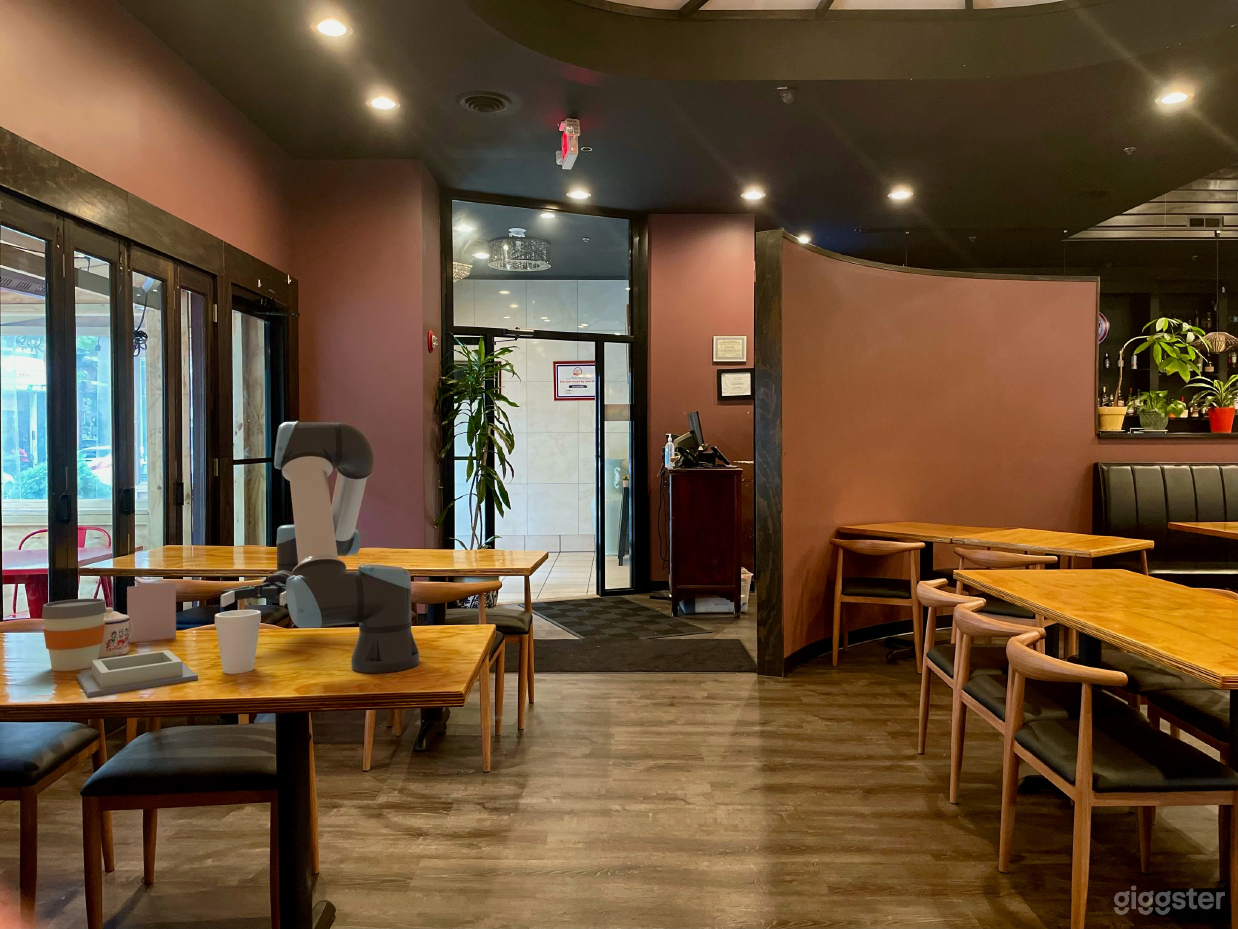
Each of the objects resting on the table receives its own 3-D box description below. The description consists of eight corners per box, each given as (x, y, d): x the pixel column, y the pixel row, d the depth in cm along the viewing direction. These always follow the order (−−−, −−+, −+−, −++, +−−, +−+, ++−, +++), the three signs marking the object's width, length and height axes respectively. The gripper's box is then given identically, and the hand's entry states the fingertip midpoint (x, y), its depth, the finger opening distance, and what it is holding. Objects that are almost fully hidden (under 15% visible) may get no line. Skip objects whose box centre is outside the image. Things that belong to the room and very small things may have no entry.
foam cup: (243, 676, 175) (242, 617, 175) (206, 674, 177) (205, 616, 177) (269, 665, 184) (269, 610, 184) (233, 664, 186) (233, 609, 186)
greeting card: (178, 637, 218) (177, 583, 218) (159, 643, 211) (158, 587, 211) (140, 636, 220) (140, 582, 220) (120, 642, 212) (120, 586, 212)
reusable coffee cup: (101, 657, 195) (100, 596, 195) (111, 666, 186) (111, 602, 186) (38, 666, 186) (38, 602, 187) (46, 676, 177) (45, 609, 177)
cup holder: (198, 679, 172) (197, 661, 172) (88, 697, 159) (88, 677, 159) (178, 663, 188) (178, 646, 188) (76, 678, 175) (76, 660, 175)
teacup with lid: (109, 659, 193) (109, 611, 193) (77, 658, 194) (77, 610, 194) (147, 648, 205) (147, 603, 205) (116, 647, 206) (116, 602, 206)
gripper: (328, 599, 213) (305, 614, 192) (231, 601, 210) (198, 617, 189) (328, 571, 213) (305, 583, 192) (231, 573, 210) (197, 585, 189)
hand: (252, 600), depth 190 cm, fingers open, 13 cm apart
